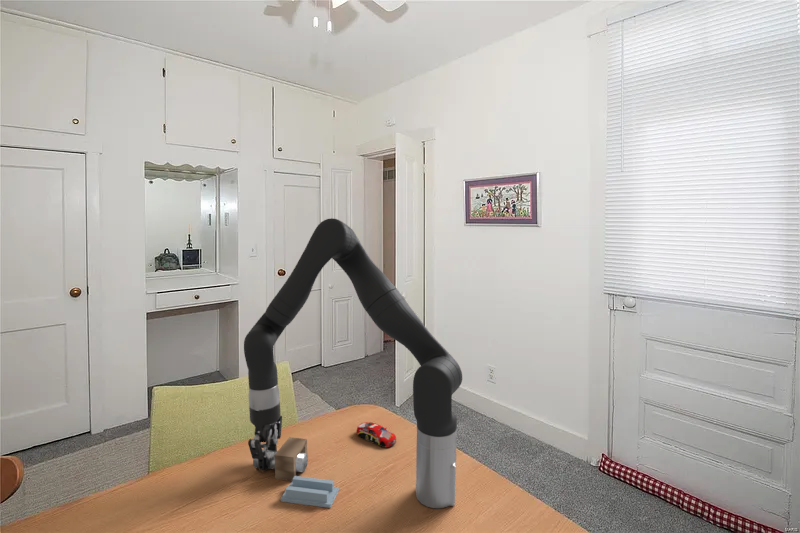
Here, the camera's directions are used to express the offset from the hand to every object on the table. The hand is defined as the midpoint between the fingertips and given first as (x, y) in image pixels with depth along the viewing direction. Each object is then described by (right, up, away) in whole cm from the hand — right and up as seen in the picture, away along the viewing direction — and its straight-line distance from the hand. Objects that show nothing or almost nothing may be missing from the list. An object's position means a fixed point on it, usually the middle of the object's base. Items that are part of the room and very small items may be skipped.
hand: (268, 463), depth 108 cm
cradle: (+13, -2, -11) cm, 17 cm away
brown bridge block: (+6, -1, -1) cm, 7 cm away
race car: (+28, 0, +14) cm, 31 cm away
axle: (+4, -1, 0) cm, 4 cm away
